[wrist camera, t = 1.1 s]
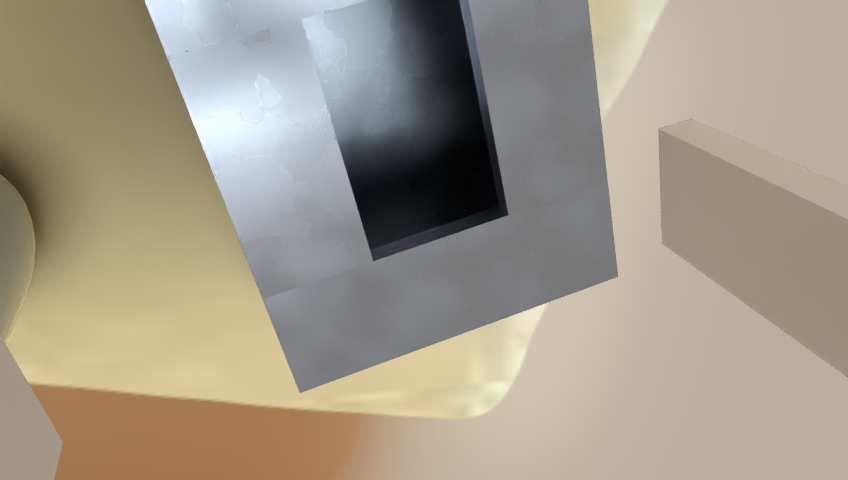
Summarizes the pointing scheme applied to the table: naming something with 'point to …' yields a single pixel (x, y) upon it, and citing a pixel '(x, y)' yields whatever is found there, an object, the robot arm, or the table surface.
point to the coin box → (398, 162)
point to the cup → (14, 255)
